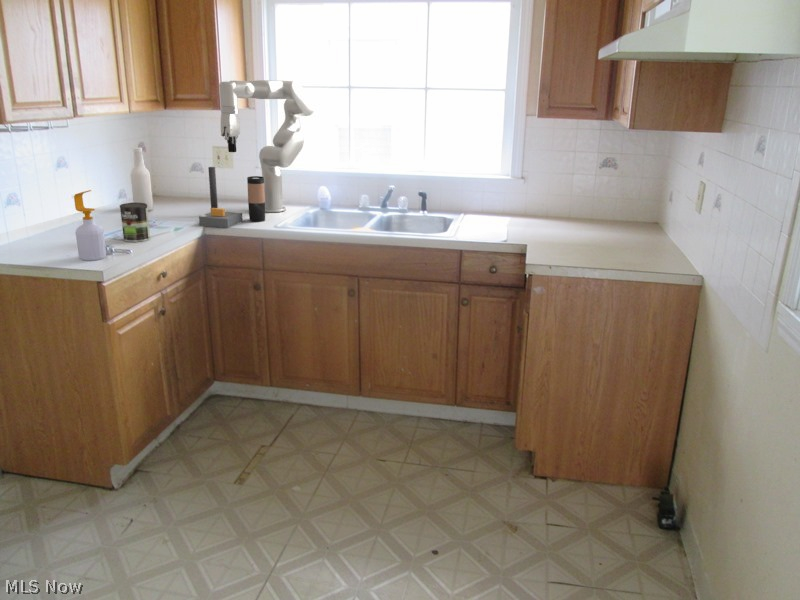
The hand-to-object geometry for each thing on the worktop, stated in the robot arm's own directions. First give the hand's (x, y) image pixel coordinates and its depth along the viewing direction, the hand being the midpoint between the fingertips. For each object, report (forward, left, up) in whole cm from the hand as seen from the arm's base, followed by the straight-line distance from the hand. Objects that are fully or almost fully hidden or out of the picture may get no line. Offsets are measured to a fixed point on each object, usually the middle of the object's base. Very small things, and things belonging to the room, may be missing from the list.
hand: (232, 151), depth 295 cm
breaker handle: (+16, 0, -27) cm, 31 cm away
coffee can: (+52, -17, -31) cm, 63 cm away
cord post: (+2, -10, -31) cm, 32 cm away
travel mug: (+2, +12, -31) cm, 33 cm away
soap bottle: (+81, -15, -31) cm, 88 cm away
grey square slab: (+14, 0, -31) cm, 34 cm away
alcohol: (+1, -49, -31) cm, 58 cm away
